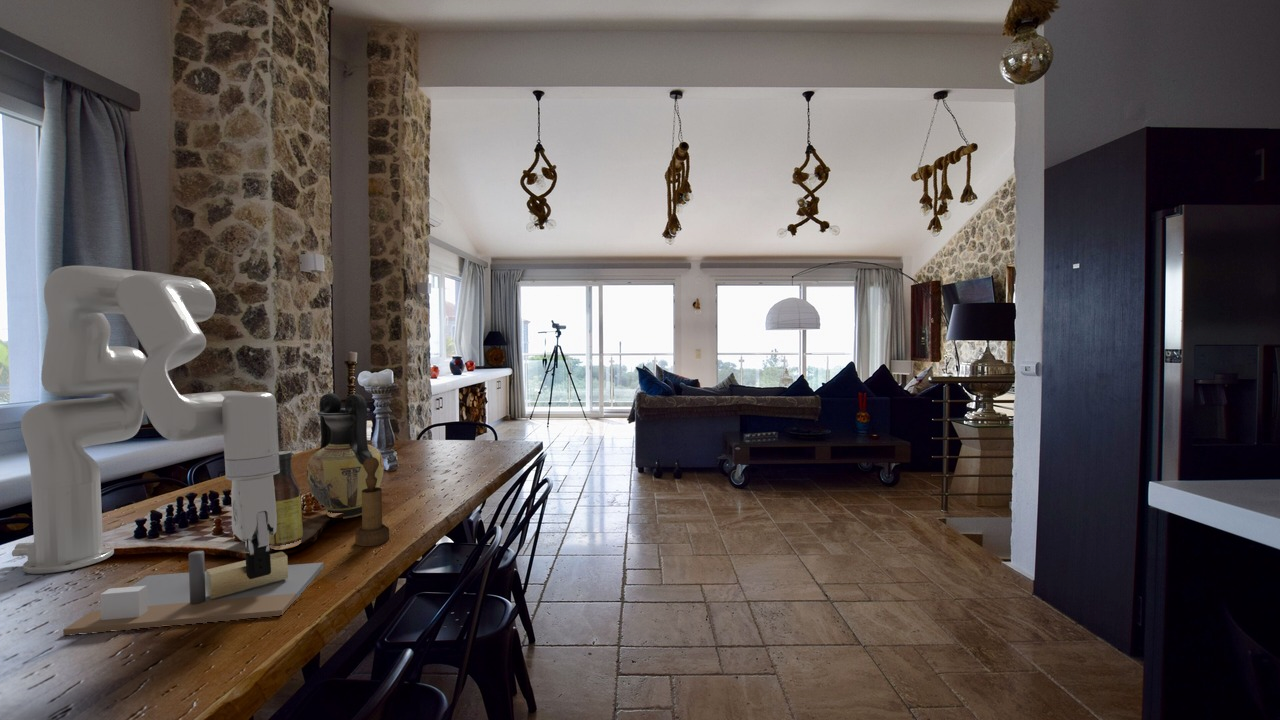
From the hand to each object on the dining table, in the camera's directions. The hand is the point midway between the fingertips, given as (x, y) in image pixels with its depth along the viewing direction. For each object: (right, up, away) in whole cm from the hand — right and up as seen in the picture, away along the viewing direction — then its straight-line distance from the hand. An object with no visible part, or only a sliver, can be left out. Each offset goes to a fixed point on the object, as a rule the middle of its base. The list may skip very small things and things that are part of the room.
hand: (259, 575), depth 97 cm
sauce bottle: (-10, -3, +24) cm, 26 cm away
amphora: (-9, -2, +47) cm, 47 cm away
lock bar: (-3, -2, +2) cm, 4 cm away
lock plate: (-8, -4, 0) cm, 9 cm away
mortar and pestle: (+6, -3, +27) cm, 28 cm away
